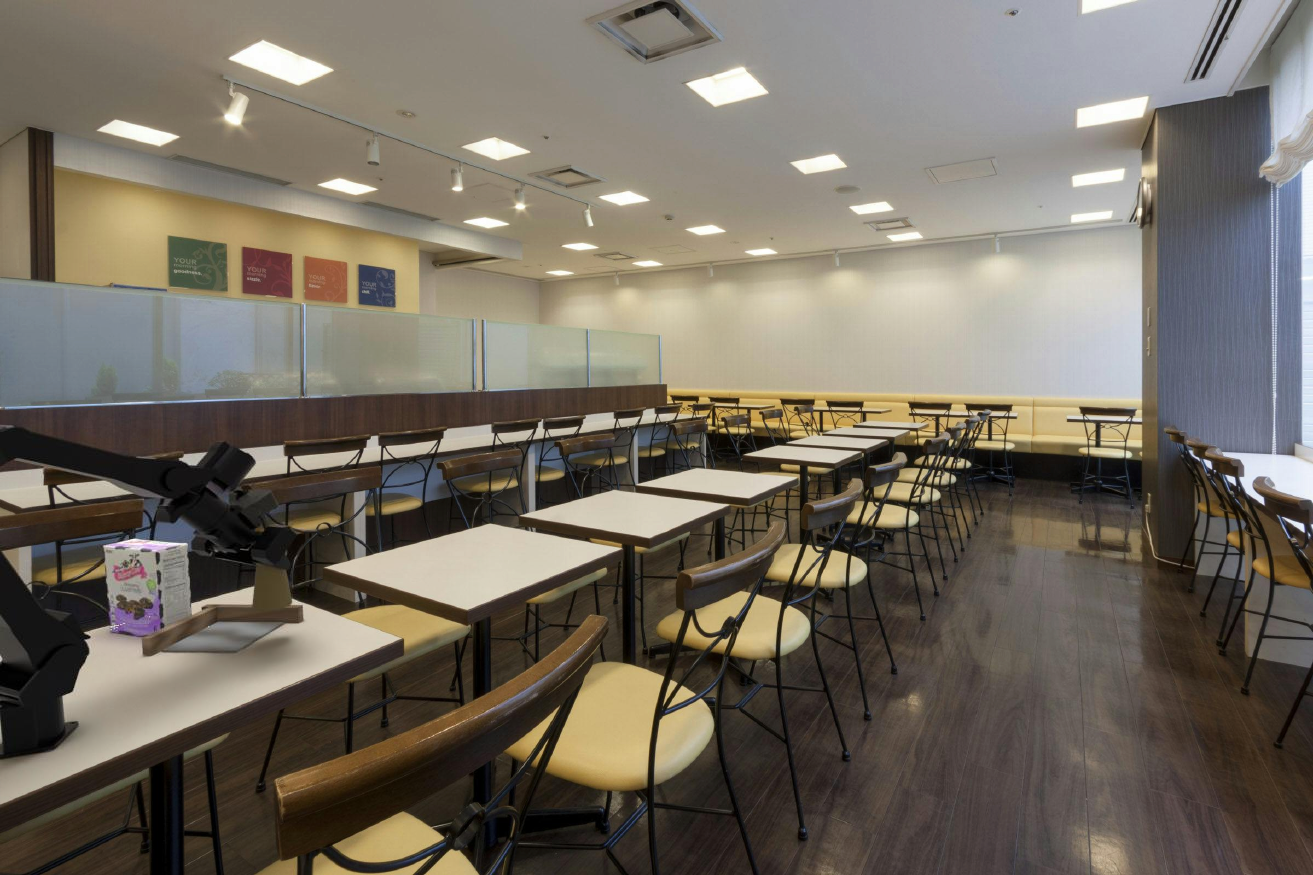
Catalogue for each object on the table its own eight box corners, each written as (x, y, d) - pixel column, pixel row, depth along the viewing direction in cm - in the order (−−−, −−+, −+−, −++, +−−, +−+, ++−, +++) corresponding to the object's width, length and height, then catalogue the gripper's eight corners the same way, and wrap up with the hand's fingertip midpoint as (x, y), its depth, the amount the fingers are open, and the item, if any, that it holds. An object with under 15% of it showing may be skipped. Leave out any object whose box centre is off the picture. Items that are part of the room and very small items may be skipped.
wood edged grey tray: (243, 656, 105) (242, 639, 105) (134, 655, 106) (132, 638, 106) (303, 620, 122) (302, 604, 121) (208, 619, 123) (207, 604, 122)
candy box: (108, 632, 117) (100, 544, 115) (142, 621, 122) (135, 537, 121) (162, 640, 112) (155, 549, 111) (195, 628, 118) (188, 541, 117)
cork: (277, 611, 107) (274, 547, 107) (243, 610, 108) (240, 547, 107) (299, 599, 113) (296, 539, 113) (267, 599, 114) (264, 539, 113)
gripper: (284, 477, 102) (342, 531, 113) (205, 473, 109) (268, 524, 120) (239, 536, 95) (306, 587, 106) (158, 527, 102) (229, 576, 113)
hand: (277, 566), depth 111 cm, fingers closed on cork, 5 cm apart
